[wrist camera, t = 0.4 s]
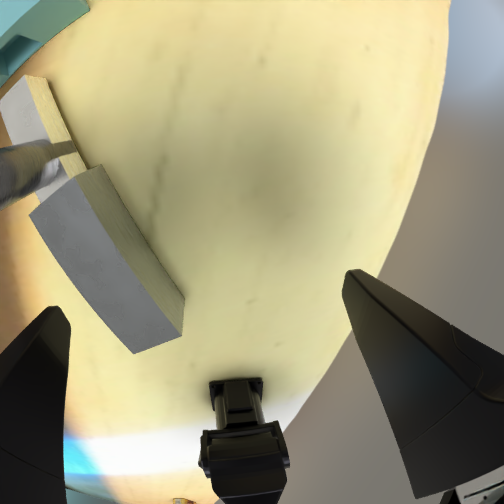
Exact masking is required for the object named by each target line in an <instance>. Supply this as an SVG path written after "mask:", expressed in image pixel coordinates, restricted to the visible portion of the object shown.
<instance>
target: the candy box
mask: <svg viewBox="0 0 504 504" xmlns="http://www.w3.org/2000/svg"><path fill="white" fill-rule="evenodd" d="M173 504H196V502H192V501H189V500H186V499H173Z"/></svg>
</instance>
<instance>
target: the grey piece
mask: <svg viewBox="0 0 504 504" xmlns="http://www.w3.org/2000/svg"><path fill="white" fill-rule="evenodd" d="M0 111H1V114H2V117H3V120H4V123H5V126H6V128H7V131H8V134H9V136H10V139H11V141H12V144H13V145H12V146H8V147H4V148H0V211H2V210H3V209H5V208H7V207H8V206H10V205H12V204H14V203H15V202H17V201H19V200H21V199H23V198H24V197H26V196H28V195H30V194H32V193H34V192H35V193H36V195H37V197H38V199H39V201H40V202H41V203H42V202H43V201H45V200H46V199H47V198H48V197H49V196H50V195H52V194H53V193H54V192H55V191H56V190H58V189H59V188H60V187H61V186H62V185H64V184H65V183H66V182H67V181H69V180H70V179H71V178H73V177H74V176H76V175H78V174H80V173H82V172H85V171H87V168H86V166H85V164H84V163H83V161H82V159H81V157H80V155H79V153H78V151H77V148H76V145H75V144H74V142H73V141H72V138H71V136H70V134H69V132H68V130H67V128H66V126H65V124H64V121H63V119H62V117H61V115H60V112H59V110H58V108H57V105H56V103H55V101H54V98H53V96H52V93H51V91H50V88H49V86H48V83H47V81H46V78H41V77H35V76H29V75H24V76H23V77H22V78H21V79H20V80H19V81H18V82H17V83H16V84H15V85H14V86H13V87H12V88H11V89H10V90H9V91H8V92H7V93H6V95H5V96H4V97H3V98H2V99H1V100H0Z"/></svg>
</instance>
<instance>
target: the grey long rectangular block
mask: <svg viewBox="0 0 504 504" xmlns="http://www.w3.org/2000/svg"><path fill="white" fill-rule="evenodd" d="M29 216H30V218H31V220H32V222H33V223H34V225H35V227H36V229H37V230H38V232H39V234H40V235H41V237H42V239H43V240H44V242H45V243H46V245H47V246H48V248H49V250H50V251H51V253H52V254H53V256H54V257H55V259H56V260H57V262H58V263H59V265H60V266H61V267H62V269H63V270H64V272H65V273H66V274H67V276H68V277H69V279H70V280H71V281H72V283H73V284H74V285H75V287H76V288H77V289H78V291H79V292H80V293H81V295H82V296H83V297H84V298H85V300H86V301H87V302H88V303H89V305H90V306H91V307H92V308H93V310H94V311H95V312H96V313H97V314H98V316H99V317H100V318H101V319H102V320H103V321H104V323H105V324H106V325H107V326H108V327H109V328H110V329H111V331H112V332H113V333H114V334H115V335H116V336H117V337H118V338H119V339H120V341H121V342H122V343H123V344H124V345H125V346H126V347H127V348H128V349H129V350H130V351H131V352H132V353H133V354H136V353H138V352H141V351H144V350H147V349H149V348H152V347H154V346H157V345H160V344H162V343H165V342H168V341H170V340H173V339H175V338H178V337H180V336H182V328H183V315H184V304H185V299H184V297H183V296H182V294H181V293H180V292H179V290H178V289H177V287H176V286H175V284H174V283H173V281H172V280H171V278H170V277H169V276H168V274H167V273H166V271H165V270H164V268H163V267H162V265H161V264H160V262H159V261H158V259H157V258H156V256H155V254H154V253H153V251H152V250H151V248H150V247H149V245H148V244H147V242H146V240H145V239H144V237H143V236H142V234H141V232H140V231H139V229H138V228H137V226H136V224H135V223H134V221H133V219H132V218H131V216H130V214H129V213H128V211H127V209H126V208H125V206H124V204H123V202H122V201H121V199H120V197H119V195H118V194H117V192H116V190H115V188H114V187H113V185H112V183H111V181H110V179H109V178H108V176H107V174H106V172H105V170H104V168H103V166H102V165H98V166H96V167H94V168H91V169H89V170H87V171H85V172H82V173H80V174H78V175H76V176H74V177H73V178H71V179H70V180H69V181H67V182H66V183H65V184H64V185H62V186H61V187H60V188H59V189H58V190H56V191H55V192H54V193H53V194H52V195H50V196H49V197H48V198H47V199H46V200H45V201H43V202H42V203H41V204H40V205H39V206H38V207H37V208H36V209H35V210H34V211H32V212H31V213H30V214H29Z"/></svg>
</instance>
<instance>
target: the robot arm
mask: <svg viewBox="0 0 504 504" xmlns="http://www.w3.org/2000/svg"><path fill="white" fill-rule="evenodd" d="M342 298H343V301H344V304H345V307H346V310H347V313H348V316H349V319H350V323H351V326H352V329H353V332H354V335H355V338H356V340H357V343H358V346H359V348H360V350H361V352H362V355H363V357H364V359H365V362H366V364H367V367H368V369H369V371H370V374H371V376H372V379H373V381H374V384H375V386H376V388H377V391H378V393H379V396H380V398H381V401H382V403H383V406H384V409H385V411H386V414H387V417H388V419H389V422H390V424H391V427H392V430H393V433H394V436H395V438H396V441H397V444H398V447H399V449H400V453H401V456H402V459H403V462H404V465H405V468H406V470H407V474H408V477H409V480H410V484H411V487H412V490H413V494H414V496H415V499H419V498H422V497H426V496H429V495H432V494H436V493H439V492H442V491H445V490H448V489H449V490H448V491H446V492H445V493H444V495H443V497H442V499H441V502H440V504H504V355H502V354H501V353H499V352H497V351H495V350H494V349H492V348H490V347H488V346H486V345H485V344H483V343H481V342H479V341H478V340H476V339H474V338H472V337H471V336H469V335H468V334H466V333H464V332H463V331H461V330H460V329H458V328H456V327H455V326H453V325H450V323H449V322H447V321H445V320H443V319H442V318H441V317H439V316H437V315H436V314H434V313H433V312H431V311H429V310H428V309H426V308H424V307H423V306H421V305H420V304H418V303H416V302H415V301H413V300H411V299H410V298H408V297H407V296H405V295H403V294H402V293H400V292H398V291H397V290H395V289H393V288H392V287H390V286H388V285H387V284H385V283H383V282H381V281H380V280H378V279H376V278H375V277H373V276H371V275H370V274H368V273H366V272H364V271H363V270H361V269H354V270H349V271H347V272H346V274H345V279H344V284H343V288H342ZM70 337H71V326H70V323H69V321H68V320H67V318H66V316H65V315H64V313H63V311H62V310H61V308H60V307H59V306H48V307H47V308H46V309H45V310H43V311H42V312H41V313H40V314H39V315H38V316H37V317H36V318H35V319H34V320H33V321H32V322H31V323H30V324H29V325H28V326H27V327H26V328H25V329H24V330H23V331H22V332H21V333H20V334H19V335H18V336H17V337H16V338H15V339H14V340H13V341H12V342H11V343H10V344H9V345H8V347H7V348H6V349H5V350H4V351H3V352H2V353H1V354H0V504H67V499H66V490H65V480H64V458H63V433H64V410H65V397H66V387H67V378H68V367H69V350H70ZM262 388H263V380H262V379H261V378H256V379H245V380H233V381H219V382H210V383H209V389H210V395H211V401H212V407H213V411H215V414H216V426H217V430H203V436H201V437H200V439H201V451H200V456H199V461H198V465H199V467H201V468H202V469H203V471H204V473H205V475H206V477H207V478H211V483H212V488H213V491H214V492H215V493H216V495H217V496H218V497H219V498H221V500H222V501H223V502H224V503H225V504H277V503H278V501H279V499H280V496H281V494H282V492H283V490H284V487H285V485H286V482H287V477H286V472H285V469H286V468H290V461H289V455H288V451H287V447H286V443H285V440H284V437H283V434H282V431H281V428H280V425H279V422H278V420H277V421H273V422H270V423H265V420H264V415H263V411H262V406H261V400H262Z"/></svg>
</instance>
